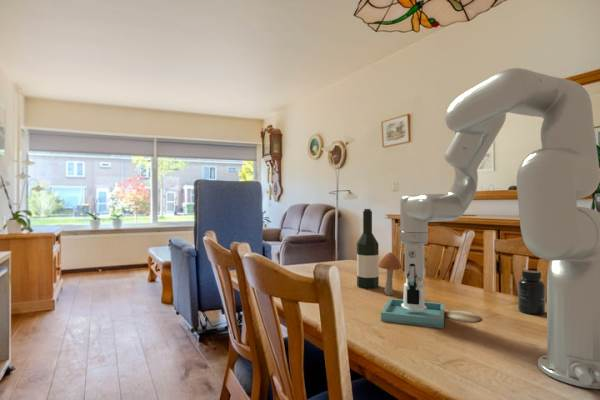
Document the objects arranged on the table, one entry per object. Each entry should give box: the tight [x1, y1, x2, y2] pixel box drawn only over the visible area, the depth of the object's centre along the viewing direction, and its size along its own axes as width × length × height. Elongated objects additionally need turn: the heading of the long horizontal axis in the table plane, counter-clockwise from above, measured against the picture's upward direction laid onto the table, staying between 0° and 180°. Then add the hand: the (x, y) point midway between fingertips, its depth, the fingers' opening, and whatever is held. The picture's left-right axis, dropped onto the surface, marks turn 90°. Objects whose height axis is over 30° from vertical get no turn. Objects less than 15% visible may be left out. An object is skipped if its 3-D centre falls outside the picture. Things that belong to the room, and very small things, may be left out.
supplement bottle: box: [517, 269, 546, 316], centre depth 110 cm, size 7×7×12 cm
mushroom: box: [379, 252, 403, 296], centre depth 131 cm, size 8×8×15 cm
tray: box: [380, 297, 445, 329], centre depth 106 cm, size 16×16×2 cm
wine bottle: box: [356, 208, 380, 290], centre depth 144 cm, size 8×8×30 cm
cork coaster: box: [445, 310, 482, 323], centre depth 105 cm, size 9×9×1 cm
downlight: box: [401, 274, 427, 311], centre depth 106 cm, size 8×7×10 cm
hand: (414, 300), depth 106 cm, fingers closed on downlight, 5 cm apart
